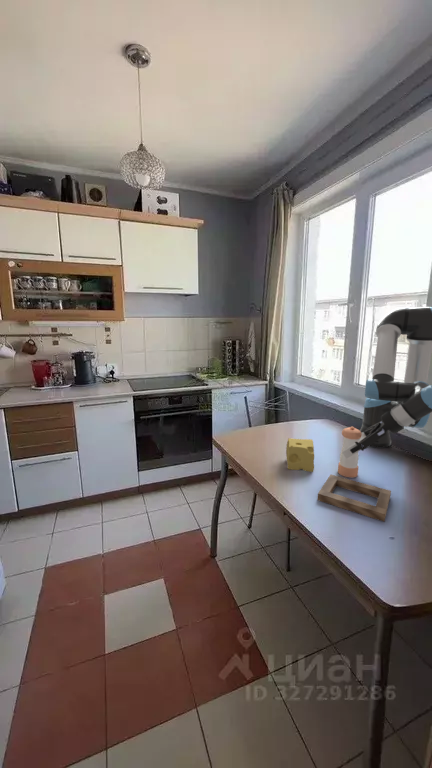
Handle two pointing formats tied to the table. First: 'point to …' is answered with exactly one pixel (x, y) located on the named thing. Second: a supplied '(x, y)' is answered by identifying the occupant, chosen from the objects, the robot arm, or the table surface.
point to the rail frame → (351, 504)
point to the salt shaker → (350, 465)
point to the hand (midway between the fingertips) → (348, 449)
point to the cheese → (300, 454)
